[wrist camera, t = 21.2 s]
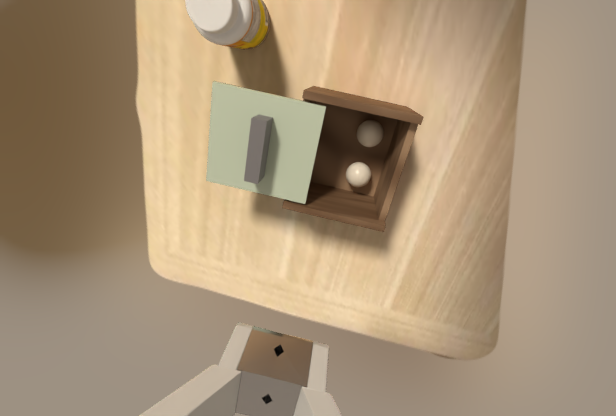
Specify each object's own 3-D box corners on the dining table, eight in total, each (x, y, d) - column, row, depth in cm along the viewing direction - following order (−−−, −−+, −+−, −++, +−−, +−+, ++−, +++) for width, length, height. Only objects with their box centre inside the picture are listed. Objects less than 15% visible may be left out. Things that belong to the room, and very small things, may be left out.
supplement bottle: (213, 28, 35) (163, 12, 26) (238, -21, 33) (193, -58, 23) (254, 61, 36) (220, 57, 26) (281, 15, 33) (255, -7, 24)
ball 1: (360, 115, 36) (360, 119, 33) (385, 121, 36) (388, 125, 33) (353, 140, 37) (353, 146, 35) (378, 146, 37) (380, 152, 34)
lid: (215, 81, 29) (200, 82, 27) (326, 106, 29) (323, 109, 26) (208, 179, 34) (195, 189, 31) (305, 201, 33) (301, 213, 30)
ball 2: (349, 156, 38) (349, 163, 35) (373, 162, 38) (375, 169, 35) (343, 179, 39) (342, 187, 37) (366, 184, 39) (367, 193, 37)
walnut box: (313, 86, 36) (303, 90, 28) (407, 106, 36) (423, 116, 28) (295, 181, 41) (282, 207, 33) (377, 200, 41) (383, 231, 33)
